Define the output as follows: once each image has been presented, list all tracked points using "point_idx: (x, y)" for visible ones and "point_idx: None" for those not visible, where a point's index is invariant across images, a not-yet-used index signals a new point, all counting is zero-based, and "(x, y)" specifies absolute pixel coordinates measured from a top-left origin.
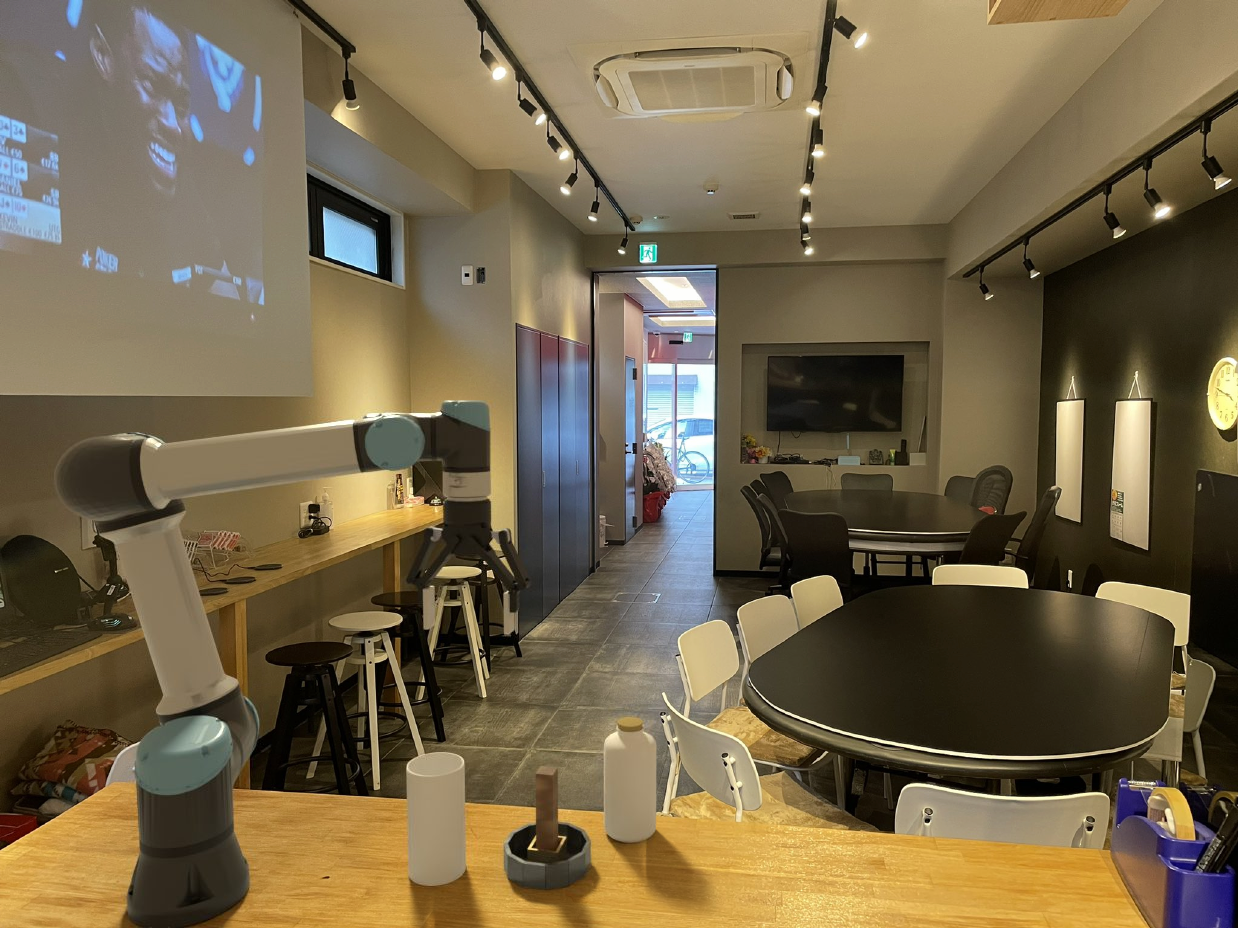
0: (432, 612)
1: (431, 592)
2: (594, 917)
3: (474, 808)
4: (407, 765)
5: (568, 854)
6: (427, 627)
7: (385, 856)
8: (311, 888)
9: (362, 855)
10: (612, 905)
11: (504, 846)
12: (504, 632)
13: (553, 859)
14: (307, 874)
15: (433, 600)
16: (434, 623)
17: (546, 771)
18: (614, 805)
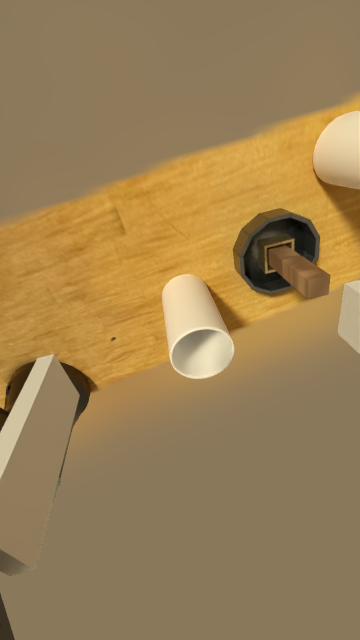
0: (47, 410)
1: (16, 513)
2: None
3: (146, 182)
4: (176, 370)
5: (286, 229)
6: (76, 400)
7: (131, 300)
8: (116, 351)
9: (112, 307)
10: (334, 275)
11: (244, 279)
12: (343, 336)
13: None
14: (97, 342)
15: (22, 450)
16: (54, 362)
17: (318, 289)
18: (350, 187)
